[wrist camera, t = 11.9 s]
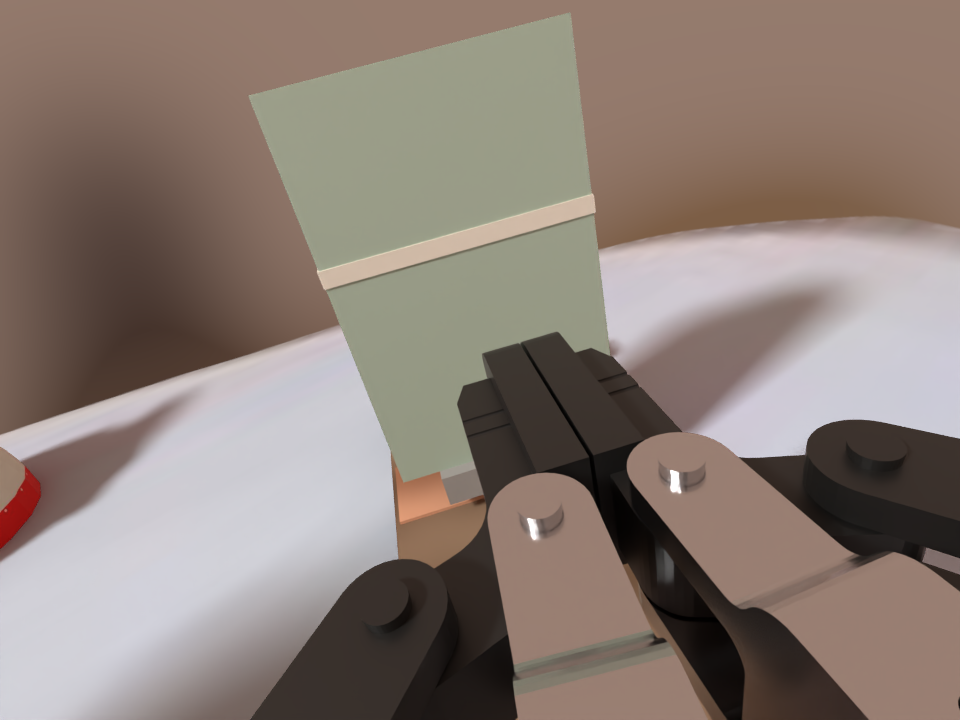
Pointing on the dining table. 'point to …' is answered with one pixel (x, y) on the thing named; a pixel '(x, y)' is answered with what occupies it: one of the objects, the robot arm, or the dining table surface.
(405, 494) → the fader console
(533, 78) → the green box
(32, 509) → the kitchen timer
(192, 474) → the dining table surface
